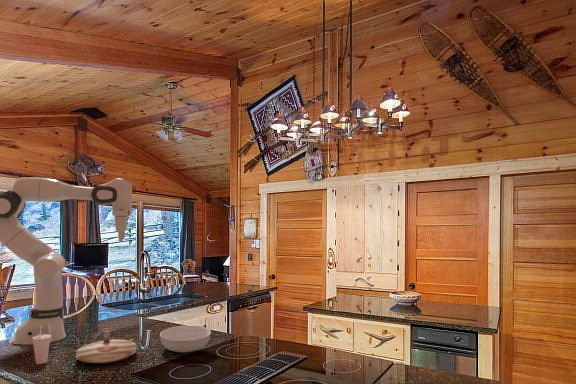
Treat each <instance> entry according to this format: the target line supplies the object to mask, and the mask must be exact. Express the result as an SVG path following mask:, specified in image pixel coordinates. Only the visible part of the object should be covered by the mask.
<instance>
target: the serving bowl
mask: <svg viewBox="0 0 576 384" xmlns="http://www.w3.org/2000/svg"><path fill="white" fill-rule="evenodd" d="M211 333H212V331H211V330H210V329H209V328H207V327H204V326H201V325H200V326H199V325H178V326H173V327H168V328H165V329H163V330H162V331H161V332H160V333H159V340H160V342H161V344H162V346H163V347H164V348H166V349H167V350H169V351H172V352H175V353H176V352H177V353H191V352H194V351H198V350H201V349H202V348H204V347H205V346H206V345H207V344H209V342H210V339H211V335H212V334H211Z"/></svg>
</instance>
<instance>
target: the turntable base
mask: <svg viewBox="0 0 576 384" xmlns="http://www.w3.org/2000/svg"><path fill="white" fill-rule="evenodd" d="M126 359H127V358H124V359H120V360H116V361H111V362H104V363H88V362H85V363H86V364H88V365H93V366H103V365H105V366H106V365H107V366H108V365H112V364H115V363H120V362H122V361H124V360H126Z"/></svg>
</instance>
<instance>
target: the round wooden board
mask: <svg viewBox="0 0 576 384" xmlns="http://www.w3.org/2000/svg"><path fill="white" fill-rule="evenodd" d="M137 346H138V345H137V343H136V342H134V341H132V340H127V339H111V331H110V330H105V331H103V340H99V341H95V342H91V343H87V344H85V345H83V346H81V347H79V348H77V350H76V351H75V358H76V360H78V361H79V362H83V363H86V362H88V363H104V362H111V361H116V360H120V359H124V358H126V359H127V358H129V357H131V356H132V355H134V354H135V353H136V352H137V350H138V349H137ZM124 360H125V359H124ZM88 363H87V364H88Z"/></svg>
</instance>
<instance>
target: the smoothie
mask: <svg viewBox="0 0 576 384" xmlns="http://www.w3.org/2000/svg"><path fill="white" fill-rule="evenodd" d="M50 339H51V335H49V334H42V335H41V325H40V335H37V336H34V337H33V338H32V341H33V344H32V345H33V350H34V351H33V352H34V360H35V364H37V365H43V364H45V363H47V362H48V357H49V349H50V344H51V343H50Z"/></svg>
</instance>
